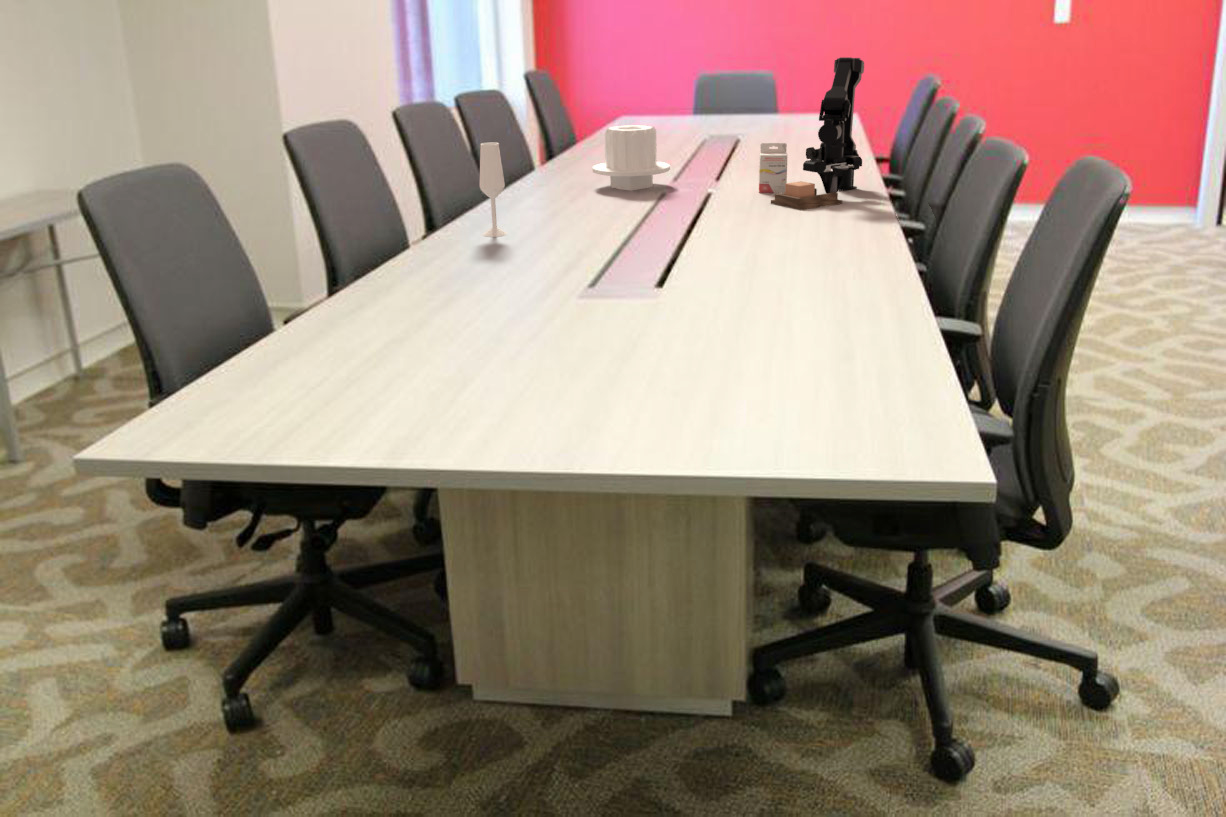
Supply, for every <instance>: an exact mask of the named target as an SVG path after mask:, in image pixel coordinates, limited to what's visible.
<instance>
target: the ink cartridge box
mask: <svg viewBox="0 0 1226 817" xmlns="http://www.w3.org/2000/svg"><path fill="white" fill-rule="evenodd" d="M787 146H788V145H787V143H786V142H780V143H779V142H765V143H763V142H761V144H760V153H759V162H758V163H759V165H758V167H759V170H758V171H759V172H758V173H759V174H758V193H759V194H762V193H763V194H768V193H769V194H773V193H774V194H778V193H785V184H786V183H788V181H787V178H788V152H787ZM773 147H775V148H773Z"/></svg>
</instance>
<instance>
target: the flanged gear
mask: <svg viewBox="0 0 1226 817" xmlns="http://www.w3.org/2000/svg"><path fill="white" fill-rule="evenodd" d="M604 145H605V146H604V151H605V154H604V156H605V162H602V163H598V164H595V165H592V173H594V174H596V175H600V176H607V177H608V176H609V177H610V179H609V181H610V188H611V189H617V190H622V191H626V192H627V191H628V192H634V191H639V190H644V189H650V188H653V186H654V185H653V184H654V183H653V178H654V177H653V175H659V174H665V173H668V172H669V171H670V170H671V164H669V163H667V162H664V161H657V160H658V158H657V129H656V128H655V127H654V126H650V125H642V124H640V125H639V124H636V125H635V124H632V125H628V124H627V125H617V126H616V125H615V126H610V127H607V128H606V129H605V132H604Z"/></svg>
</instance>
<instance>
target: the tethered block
mask: <svg viewBox="0 0 1226 817" xmlns="http://www.w3.org/2000/svg"><path fill="white" fill-rule="evenodd" d="M815 186H816V184H815V183H812V182H806V181H795V182H787V183H786V184H785V195H788V196H792V197H797V198H800V197H807V196H814V193H815ZM833 192H837V176H833V179H832V184H831V189H830V192H829V193H833ZM837 193H838V192H837Z"/></svg>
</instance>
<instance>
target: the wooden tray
mask: <svg viewBox="0 0 1226 817" xmlns="http://www.w3.org/2000/svg"><path fill="white" fill-rule="evenodd" d="M817 191H818V189H817V188H815V193H814V196H807V197H800V198H797V197H792V196H788V195H785V193H774V199H770V204H772V205H777V206H781V207H787V208H791V209H796V210H799V211H804V210H805V211H806V210H811V209H817V208H823V207H830V206H837V205H842V204H843V202H842V199H839V198H838V197H839V196H838V194H839V193H838V192H833V193H822V194H821V193H820V194H818V192H817Z"/></svg>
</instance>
